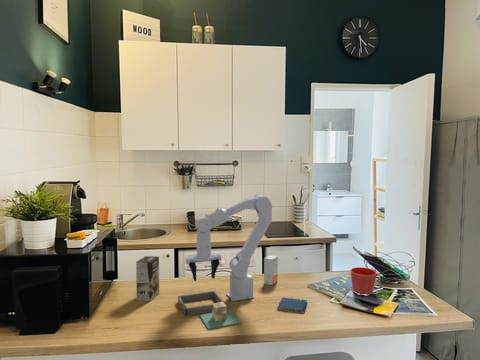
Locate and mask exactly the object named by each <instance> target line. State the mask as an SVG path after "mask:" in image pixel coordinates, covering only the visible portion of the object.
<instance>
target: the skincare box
mask: <svg viewBox="0 0 480 360" xmlns="http://www.w3.org/2000/svg"><path fill="white" fill-rule="evenodd" d="M278 265H279V260H278V256H277V255H267V256H266V257H264V258H263V284H265V285H269V286H273V285H274V284H275V283H277V282H278V275H279V273H278V267H279V266H278Z"/></svg>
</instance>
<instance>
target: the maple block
mask: <svg viewBox="0 0 480 360" xmlns="http://www.w3.org/2000/svg"><path fill="white" fill-rule="evenodd" d="M211 304H212V312H211V313H212V315H213V318H214V320H215V321H221V320H227V305H226V303H225V304H224V303H223V302H219V303H218V302H213V303H211Z"/></svg>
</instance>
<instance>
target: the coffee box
mask: <svg viewBox="0 0 480 360" xmlns="http://www.w3.org/2000/svg"><path fill="white" fill-rule="evenodd" d="M135 262H136V263H135V264H136V267H135V268H136V269H135V270H136V271H135V272H136V277H135V279H136V300H137V301H144V302H145V301H146V302H151V301H152V300H154V299H155V297H157V296H158V295H159V294H160V256H155V255H154V256H153V255H149V256H146V255H144V257H142V258H140V259H138V260H137V261H135Z"/></svg>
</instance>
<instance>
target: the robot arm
mask: <svg viewBox="0 0 480 360" xmlns="http://www.w3.org/2000/svg"><path fill="white" fill-rule="evenodd" d="M245 210H253V211H254V210H255V211H256V214H257V217H258V219H257V222H256V223H255V225H254V226H253V228H252V230H251V232H250V234H249V235H248V237H247V239H246V240H245V242H244V243H243V246H242V247H241V249H240V251H238V252H237V253H236V255H235V256H234V257H233V258H232V259H230V261H229V268H230V270H231V272H230V274H229V292H227V293H226V296H227V297H228V298H229V299H230V300H231V301H233V302H235V301H242V300H249V299H254V298H255V296H254V277H253V276H252V275H251V274H250V273H248V272H249V270H248V269H249V266H250V264H251V258H252V256H253V254H254V253H255V251H256V250H257V248H258V246H259V244H260V242H261V240H262V239H263V238H264V235H265V234H266V232H267V230H268V228H269V226H270V224H271V223H272V221H273V217H272V216H273V212H272V210H273V205H272V202H271V200H270V198H268V197H267V196H264V195H263V194H261V193H256V194H254V195H251V196H249V197H247V198H244V199H243V200H240V201H239V202H237V203H236V204H233V205H232V206H229V207H227V208H226V209H225V208H222V207H221V208H219V207H217V208H215V210H214V211H213V212H210V213H206V214H204V216H200V217H198V218H197V219H196V221H195V226H196V256H192V257H191V256H190V257H187V258H186V257H185V264H186V265H188V267H189V268H190V271H191V274H192V279H193V281H194V282H196V281H197V267H198V265H196V263H197V264H198V263H205V262H210V270H211V271H210V272H211V273H210V276H211V278H212V279H213V280H214V279H215V278H216V273H217V270H218V268H219V265H221V264H220V263H221V262H220V261H222V255H221V254H212V245H211V244H212V243H211V241H212V240H211V239H212V237H211V230H212V228H215V227H217V226H219V225H221V224H224V223H226V222H227V221H228V220H229V218H230V217H231V216H234V215H236V214H239V213H240V212H243V211H245Z"/></svg>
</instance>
